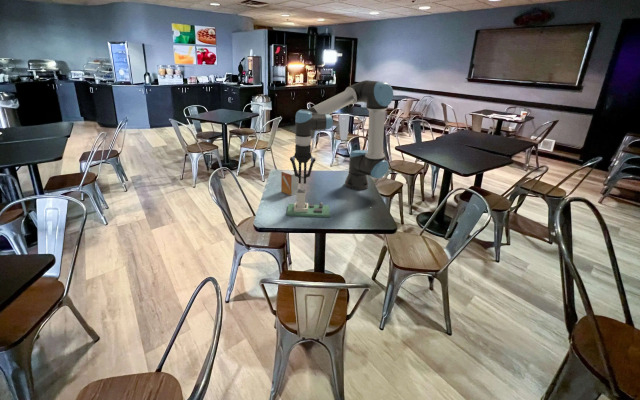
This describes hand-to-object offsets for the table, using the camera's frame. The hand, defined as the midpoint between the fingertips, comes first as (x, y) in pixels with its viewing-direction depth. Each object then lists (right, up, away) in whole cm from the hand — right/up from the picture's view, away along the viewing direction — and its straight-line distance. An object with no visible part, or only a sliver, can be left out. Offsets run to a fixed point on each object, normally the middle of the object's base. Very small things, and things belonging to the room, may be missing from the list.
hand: (302, 189), depth 164 cm
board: (+3, -11, +5) cm, 13 cm away
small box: (-9, -1, +27) cm, 29 cm away
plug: (-1, -10, +4) cm, 11 cm away
